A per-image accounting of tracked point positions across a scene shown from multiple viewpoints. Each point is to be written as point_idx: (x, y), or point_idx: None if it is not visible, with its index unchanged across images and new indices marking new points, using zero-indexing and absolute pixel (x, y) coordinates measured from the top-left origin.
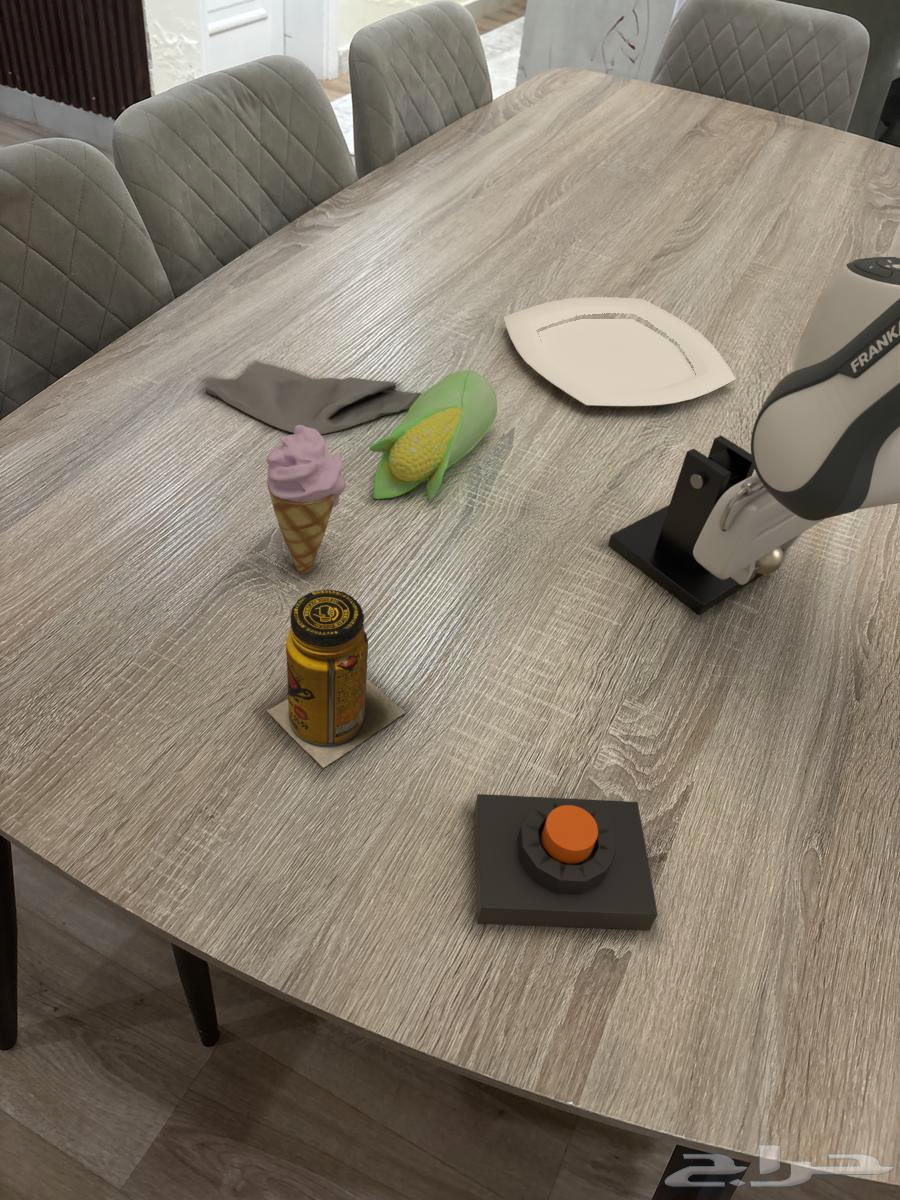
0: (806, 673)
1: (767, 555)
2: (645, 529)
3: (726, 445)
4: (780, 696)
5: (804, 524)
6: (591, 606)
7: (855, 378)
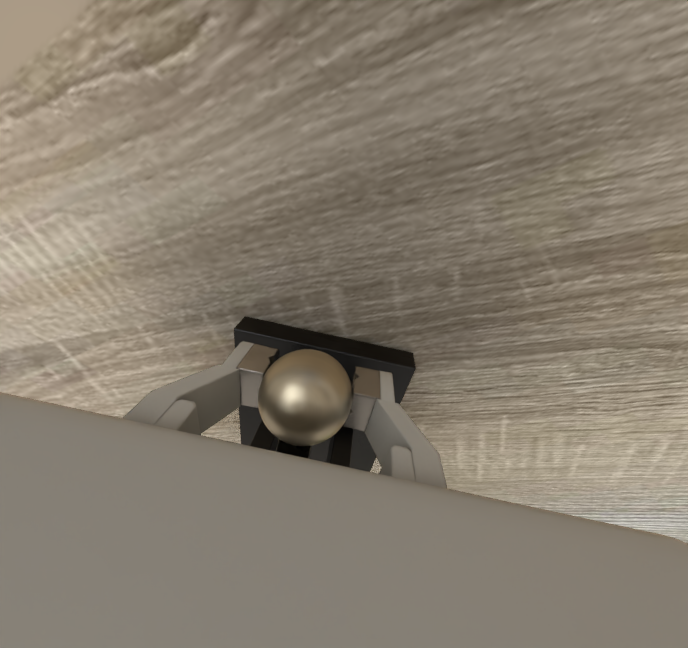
0: (438, 114)
1: (332, 417)
2: (322, 461)
3: None
4: (560, 130)
5: (181, 514)
6: (488, 446)
7: None
